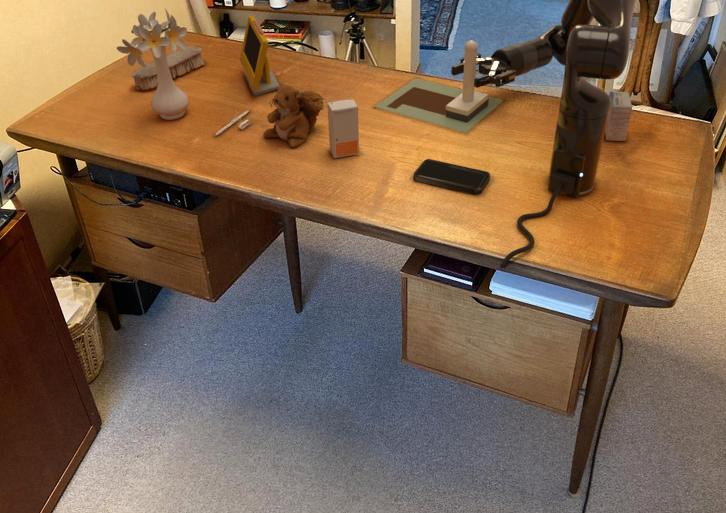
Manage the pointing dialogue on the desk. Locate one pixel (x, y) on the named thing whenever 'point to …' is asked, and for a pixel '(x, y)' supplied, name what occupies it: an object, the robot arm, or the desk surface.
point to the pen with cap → (241, 126)
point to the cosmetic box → (343, 128)
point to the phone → (452, 176)
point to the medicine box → (618, 116)
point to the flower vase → (159, 61)
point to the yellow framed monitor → (257, 59)
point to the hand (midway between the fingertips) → (463, 77)
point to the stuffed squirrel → (293, 114)
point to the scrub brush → (468, 90)
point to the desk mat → (431, 104)
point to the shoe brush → (177, 66)
